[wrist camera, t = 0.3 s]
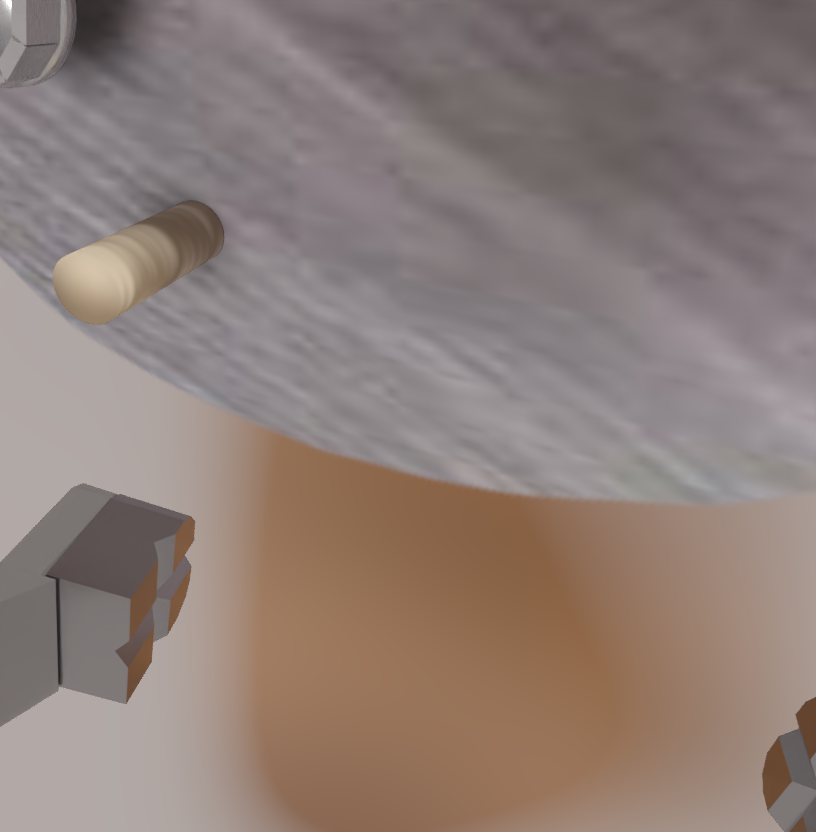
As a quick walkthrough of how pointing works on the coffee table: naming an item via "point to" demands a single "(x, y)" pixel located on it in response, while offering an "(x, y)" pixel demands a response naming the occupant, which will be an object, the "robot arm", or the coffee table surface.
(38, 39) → the cup bracket
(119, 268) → the rail post
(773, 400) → the coffee table surface
